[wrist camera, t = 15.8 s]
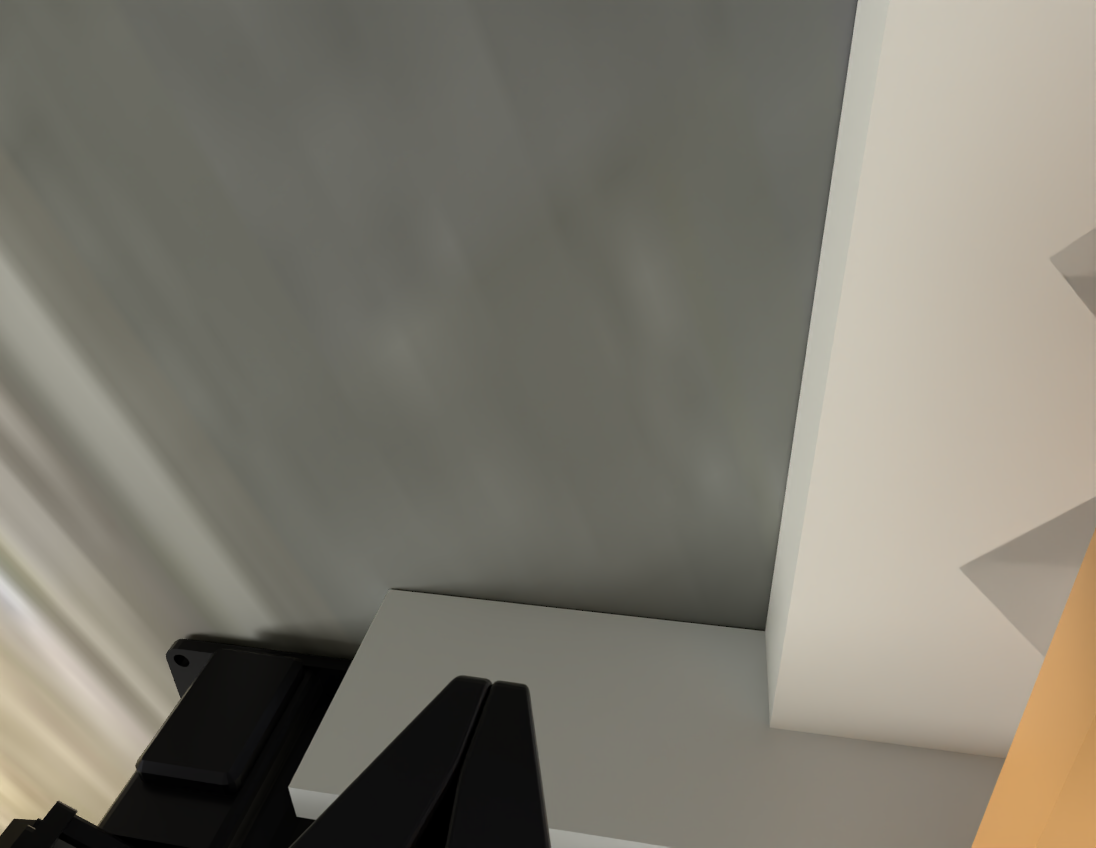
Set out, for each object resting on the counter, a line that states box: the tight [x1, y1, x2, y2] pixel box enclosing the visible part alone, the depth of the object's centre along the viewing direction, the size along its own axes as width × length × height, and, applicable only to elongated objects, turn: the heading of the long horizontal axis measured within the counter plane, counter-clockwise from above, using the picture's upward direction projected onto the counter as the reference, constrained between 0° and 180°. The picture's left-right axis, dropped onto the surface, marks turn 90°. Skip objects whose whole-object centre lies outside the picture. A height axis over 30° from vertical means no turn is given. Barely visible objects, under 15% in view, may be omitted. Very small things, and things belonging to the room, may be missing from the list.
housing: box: [288, 0, 1096, 848], centre depth 14 cm, size 18×27×6 cm, turn 91°
